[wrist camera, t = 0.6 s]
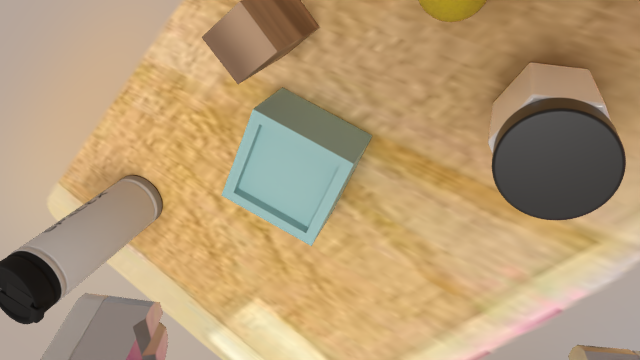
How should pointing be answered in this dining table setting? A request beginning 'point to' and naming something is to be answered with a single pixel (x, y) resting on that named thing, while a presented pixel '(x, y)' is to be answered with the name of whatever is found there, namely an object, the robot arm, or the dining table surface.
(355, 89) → the dining table surface
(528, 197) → the jar
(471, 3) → the lemon
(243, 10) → the walnut block
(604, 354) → the robot arm
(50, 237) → the travel mug
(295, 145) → the teal box
